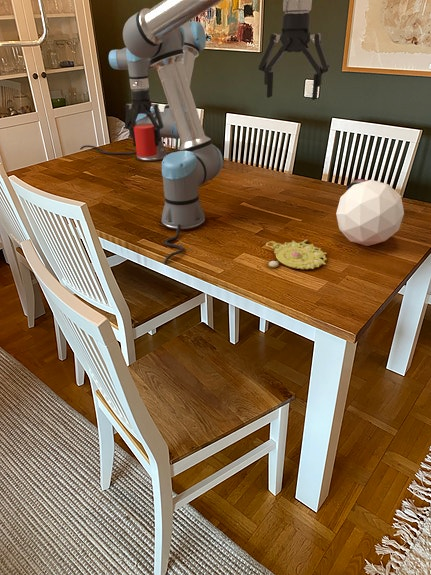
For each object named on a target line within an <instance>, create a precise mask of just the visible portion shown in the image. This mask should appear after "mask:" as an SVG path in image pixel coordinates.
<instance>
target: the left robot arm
mask: <svg viewBox="0 0 431 575" xmlns="http://www.w3.org/2000/svg"><path fill="white" fill-rule="evenodd" d="M182 27H183V29H184V33H185V41H184V46H183V52H184V57H183V60H182V64H183V67H184V70H185V74H186V77H187V80H188V83H189V86H190V87H191V82H192V76H193V71H194V66H195V59H196V58H198V57H199V55H200V51H203V50H204V49H205V48H206V43H207V39H206V37H207V36H206V31H205V28H204V26H203V24H202V23H201V22H200V21H193V20H190V21H189V22H187V23H185V24H184V25H182ZM108 63H109V65H110V68H112V69H113V70H119V71H128V78H129V79H128V80H129V86H130V89H131V90H130V96H131V103H126V104H125V105H124V107H125V119H124V129H126V130H129V137H130V138H131V139H132V143H133V147H136V143H135V135H134V126H135V125H137V124H144V123H150V124H153V125H154V127H155V130H154V133H155V143H156V146H157V151H158V154H157V155H155V156H151V157H140V156H138V155H137V151H131V152H130V151H129V152H112V151H111V152H110V151H103V150H102V149H101V147H100V146H95V145H88V144H87V145H85V144H84V145H82V146H81V147H80V148H79V150H80V151H81V150H83V149H84V148H92V149H97V150H98V151H99V153H101V154H105V155H120V156H121V155H135V154H136V159H137V160H138V161H141V162H158V161H162V160H163V159H164V157H165V156H167V155H168V153H167V150H166V148H165V145H164V142H163V139H164V138H165V139H174V140H180V137H179V134H178V131H177V128H176V125H175V122H174V119H173V116H172V113H171V110H170V107H169V104H168V103H167V104H165V105H164V107H163V111H160V108H159V103H157V102H156V103H152V101H151V93H150V92H151V91H150V90H149V88H150V82H149V75H148V72H150V71H153V70H154V71H155V70H156V69H154V68H152V67H151V65H150V62H149V59H148V58H139V57H136V56H134V55H133V54H132V53H131V52H130V51H129V50H128V49H127V47H126V46H125V47H123V48H121V49H118V48H116V49H111V50H110V51H109V53H108ZM132 109H133V110H134V112H133V116H132V118H131V110H132ZM130 121H131V122H130Z"/></svg>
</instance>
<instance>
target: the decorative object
mask: <svg viewBox="0 0 431 575" xmlns="http://www.w3.org/2000/svg"><path fill="white" fill-rule="evenodd" d="M307 242H308V239H307V238H306V239H305V240H303V241H301V242H296V241H295V240H291V242H284V243H279V242H278V243H277V242H276V241H272V240H271V241H267V242H266V243H265V246H266V247H267V248H269V249H270V248H271V249H272V250H273V255H275V257H276V259H277V260H276V261H275V260H271V261H269V262H268V267H270V268H278V267H279V264H280V263H281V264H283V265H285V266H286V267H289V268H293V269H297V270H298V269H299V270H314V269H316V268H320V267H321V266H322V265H326V263H327V262H325V261H327V260H328V258H327V257H326V255H327V254H328V253H327V251H325V252H324V251H323V250H322V248H321V247H317V246H316V245H315V244H314V243H311V244H308V243H307ZM270 244H272V245H270ZM322 258H323V259H322Z"/></svg>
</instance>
